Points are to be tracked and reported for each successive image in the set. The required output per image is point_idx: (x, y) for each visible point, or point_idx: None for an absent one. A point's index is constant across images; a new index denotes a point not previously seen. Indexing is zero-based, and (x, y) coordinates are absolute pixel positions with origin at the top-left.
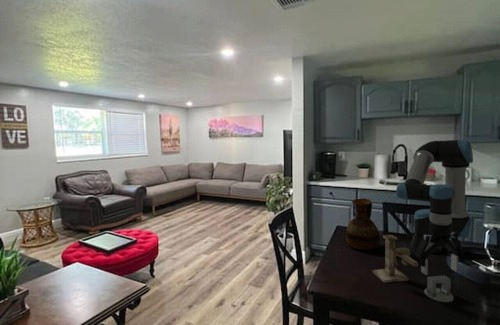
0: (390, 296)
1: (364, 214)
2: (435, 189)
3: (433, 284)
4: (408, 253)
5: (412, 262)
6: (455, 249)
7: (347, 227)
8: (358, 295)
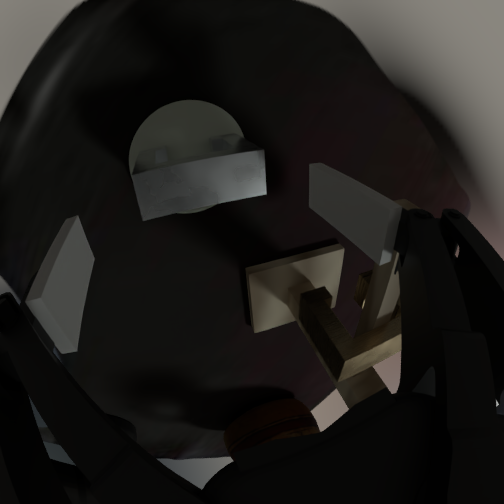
0: (373, 157)
1: None
2: None
3: (249, 145)
4: (344, 339)
5: None
6: (32, 378)
7: None
8: (432, 172)
